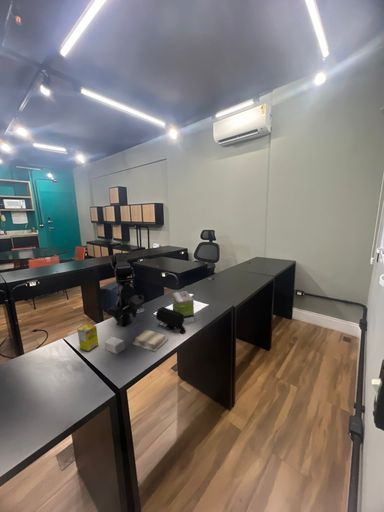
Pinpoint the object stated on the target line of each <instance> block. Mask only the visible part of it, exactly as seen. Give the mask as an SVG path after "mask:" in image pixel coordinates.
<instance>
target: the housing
mask: <svg viewBox="0 0 384 512" xmlns="http://www.w3.org/2000/svg"><path fill="white" fill-rule="evenodd" d="M125 342H126V341H125V340H123V339H120V338H118V337H114V336H111V337H109V338H108V339H107V340H104V342H103V343H104V350H106V351H108V352H110V353H113V354H115V355H118V354H119V353H120V352H123V351H124V350H125V349H126V344H125Z"/></svg>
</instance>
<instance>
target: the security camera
mask: <svg viewBox="0 0 384 512" xmlns="http://www.w3.org/2000/svg"><path fill="white" fill-rule="evenodd" d="M155 313H156V314H155V317H156V320H157V321H159V322H162V323H164V324H166V328H167V329H170V330H172V331H173V330H175V329H177V330H178V334H181V335H183V334H184V333H186V332H187V331H186V330H187V329H186V328H185V327H184V324H183V322H184V315H183V314H182V313H179V312H176V311H173V309H170V308H167V307H164V306H161V307H160V308H158V309H157V310H156V312H155Z"/></svg>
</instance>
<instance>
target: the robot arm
mask: <svg viewBox="0 0 384 512" xmlns="http://www.w3.org/2000/svg"><path fill="white" fill-rule="evenodd" d="M110 265H111V267H112V269H113V271H114V276H115V282H116V284H117V295H116V296H117V297H118V298H117V300H116V303H115V304H116V305H112V306H111V307H110V308H108V309H107V310H106V314H107V316H112V317H113V318H114V319H115V322H116V325H117V326H119V327H126V326H128V325H129V324H131V323H132V322H133V320H131V316H130V315H132V318H136V316H137V312H138V309H141V308H142V307H143V304H144V303H145V296H144V295H143V294H141V295H139V294H138V295H137V294H135V289H134V287H133V284H132V282H134V281H135V278H136V276H135V270H134V267H133V266H131V263H130V262H128V258H127V255H125V252H116V253H114V255H112V256H111V257H110Z"/></svg>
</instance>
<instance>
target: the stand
mask: <svg viewBox="0 0 384 512" xmlns="http://www.w3.org/2000/svg"><path fill="white" fill-rule="evenodd" d="M168 341H169V338H168V337H166V335H165V334H162V333H159V332H156V331H154V330H153V331H152V330H150V329H145V330H144V331H143V332H142V333H140V334H139V335H137V336H136V337H135V338H134V341H133V342H132V343H131V344H132V345H133V346H137V347H139V348H142V349H145V350H147V351H150V352H153V353H157V351H158V350H159V349H160V348H162V346H164V345H165V344H166V343H167V342H168Z"/></svg>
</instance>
